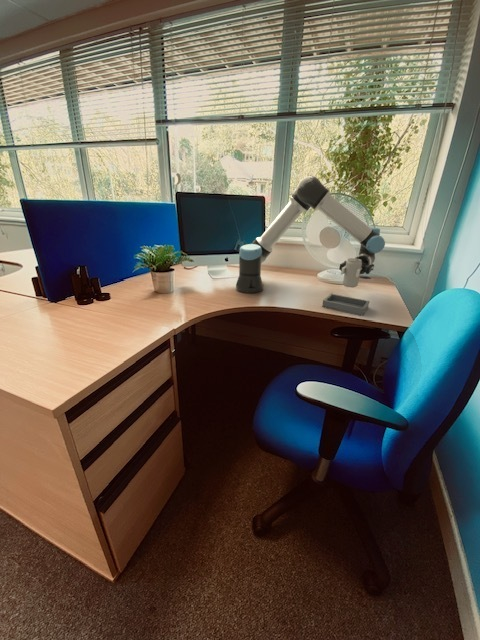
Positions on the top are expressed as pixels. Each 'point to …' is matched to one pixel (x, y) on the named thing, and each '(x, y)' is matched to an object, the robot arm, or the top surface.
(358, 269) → the robot arm
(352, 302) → the tray
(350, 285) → the beverage can
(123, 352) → the top surface
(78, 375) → the top surface
